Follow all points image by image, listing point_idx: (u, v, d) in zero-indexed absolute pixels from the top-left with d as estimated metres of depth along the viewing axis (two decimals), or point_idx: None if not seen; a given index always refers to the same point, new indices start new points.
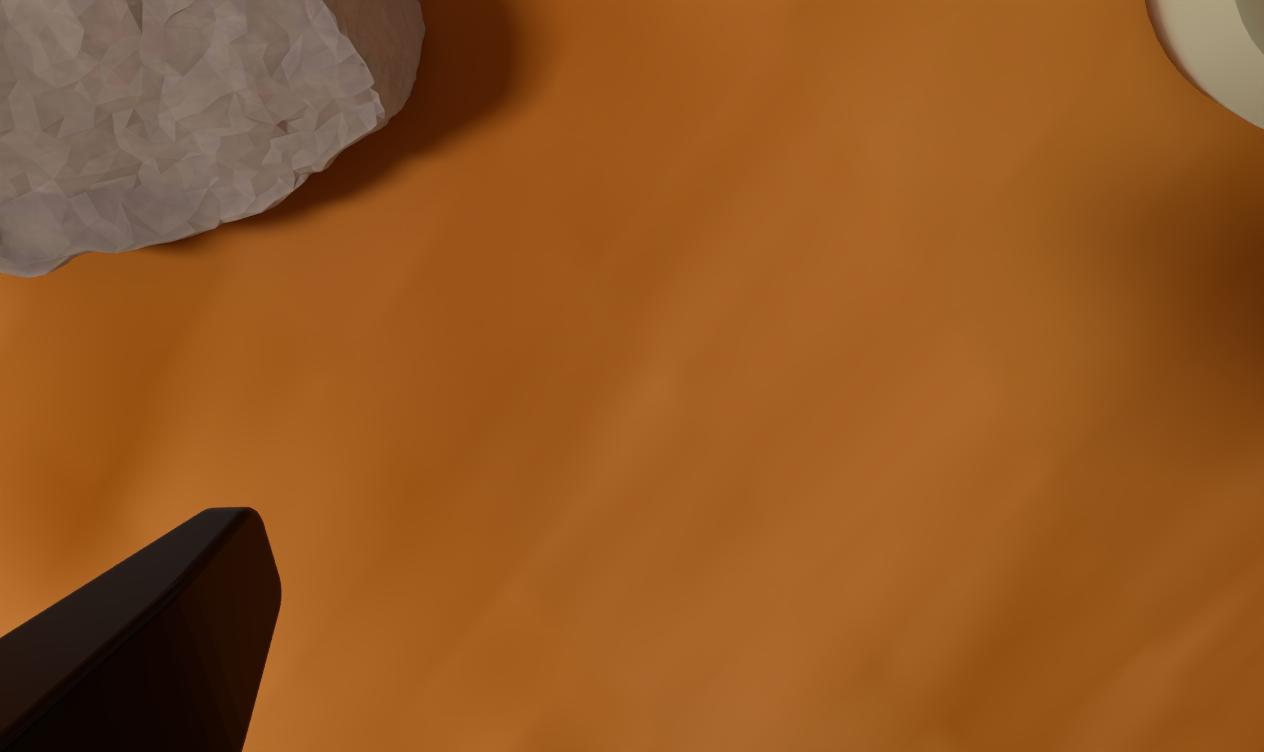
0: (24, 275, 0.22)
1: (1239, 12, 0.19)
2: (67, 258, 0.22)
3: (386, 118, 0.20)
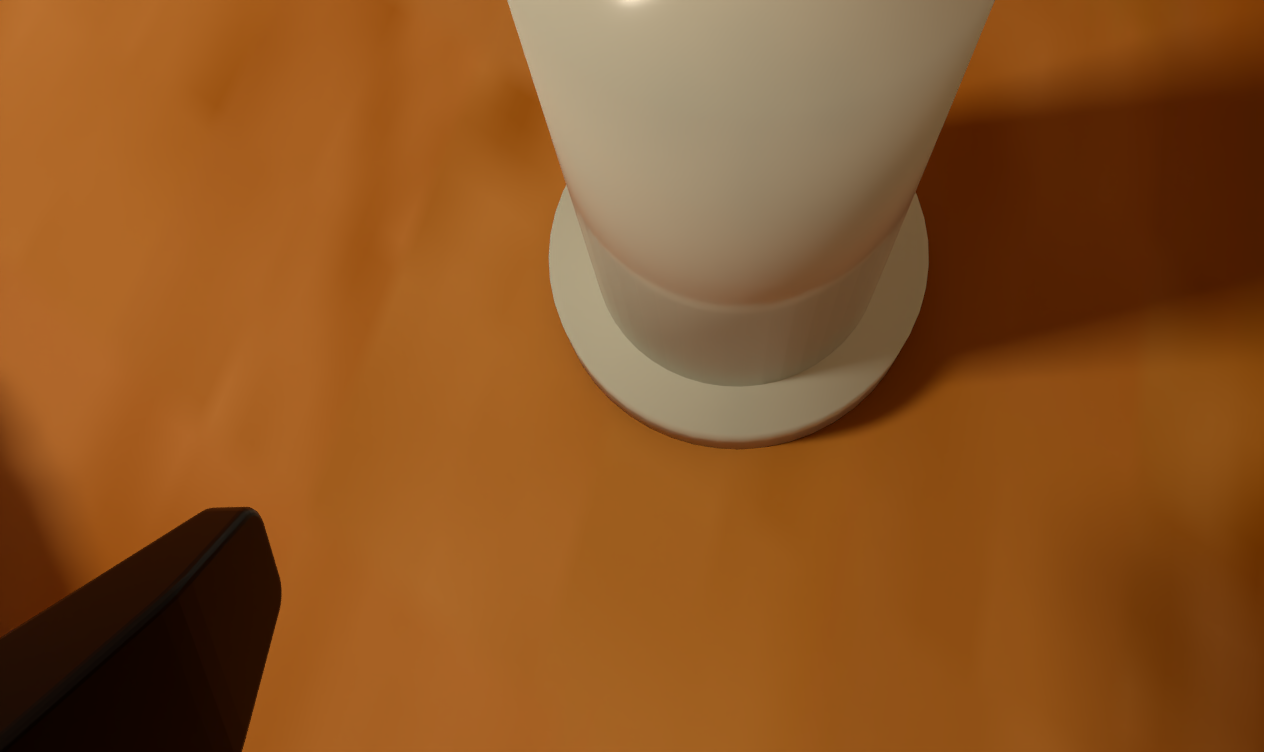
0: None
1: (644, 354, 0.22)
2: None
3: None
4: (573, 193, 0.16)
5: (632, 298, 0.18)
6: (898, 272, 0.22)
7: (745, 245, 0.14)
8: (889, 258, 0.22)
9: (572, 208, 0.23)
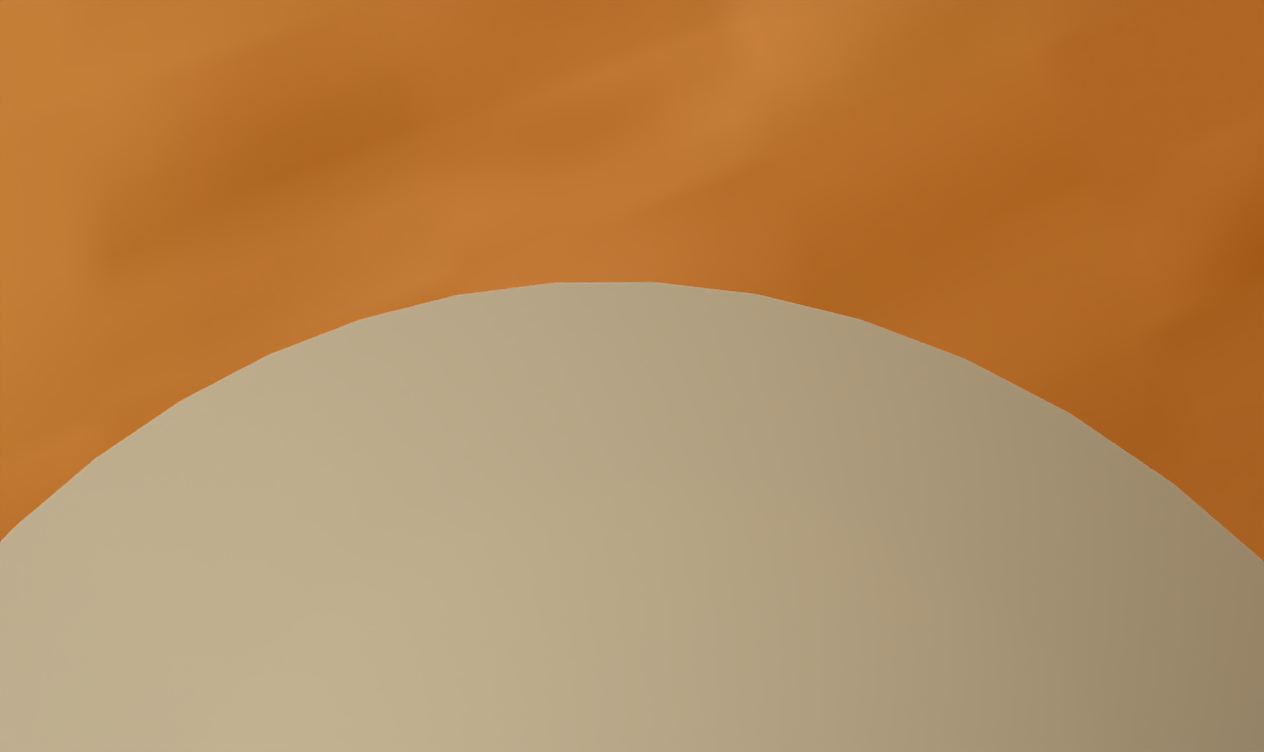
0: None
1: None
2: None
3: None
4: None
5: None
6: None
7: None
8: None
9: None
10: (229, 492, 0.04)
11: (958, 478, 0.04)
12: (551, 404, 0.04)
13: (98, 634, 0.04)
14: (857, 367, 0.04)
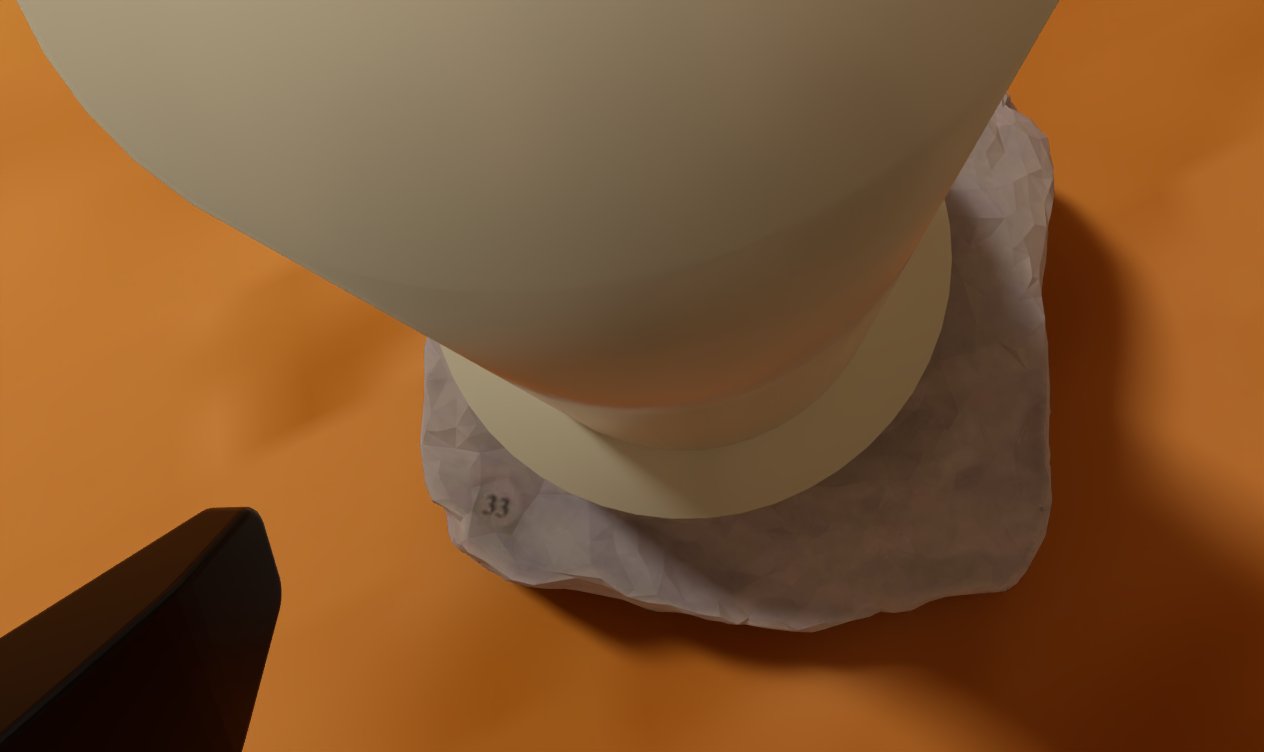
0: (509, 575, 0.18)
1: None
2: (570, 578, 0.18)
3: (1009, 583, 0.18)
4: None
5: None
6: (909, 274, 0.16)
7: (635, 386, 0.08)
8: None
9: None
10: None
11: None
12: None
13: None
14: None
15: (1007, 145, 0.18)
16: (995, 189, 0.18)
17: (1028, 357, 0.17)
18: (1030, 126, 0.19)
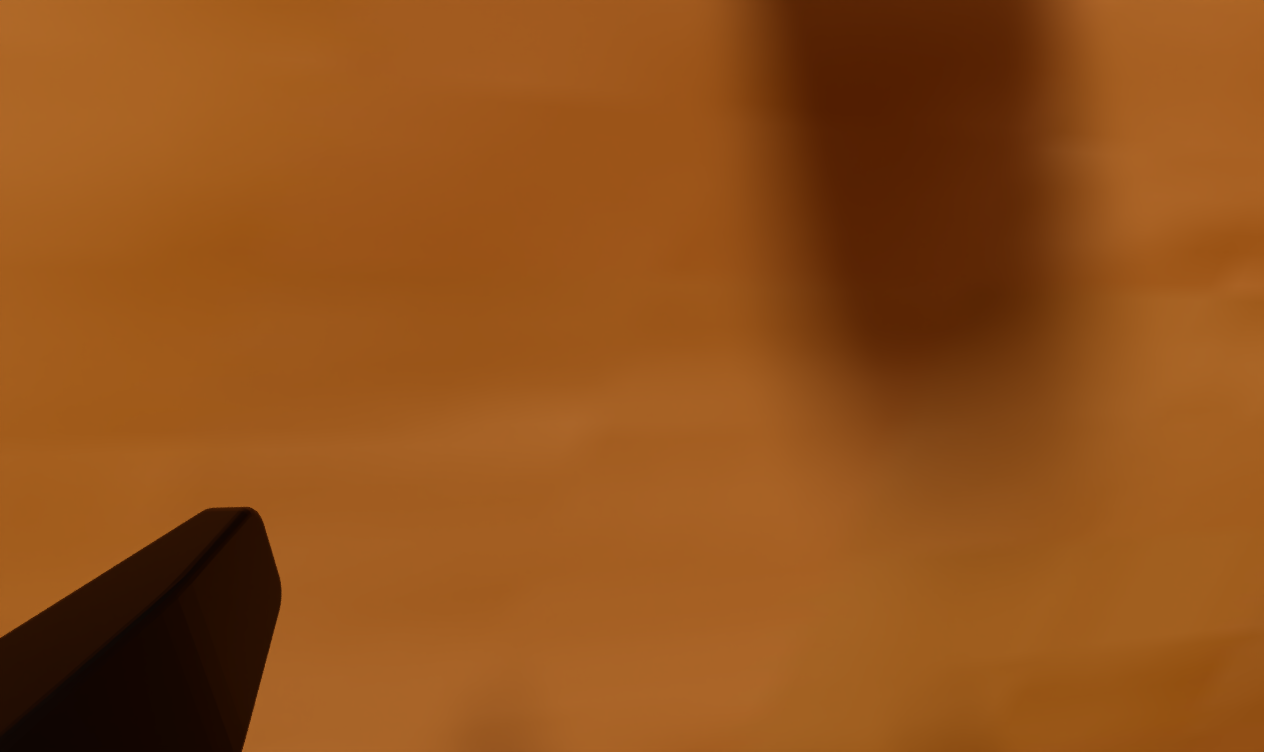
0: None
1: None
2: None
3: None
4: None
5: None
6: None
7: None
8: None
9: None
10: None
11: None
12: None
13: None
14: None
15: None
16: None
17: None
18: None
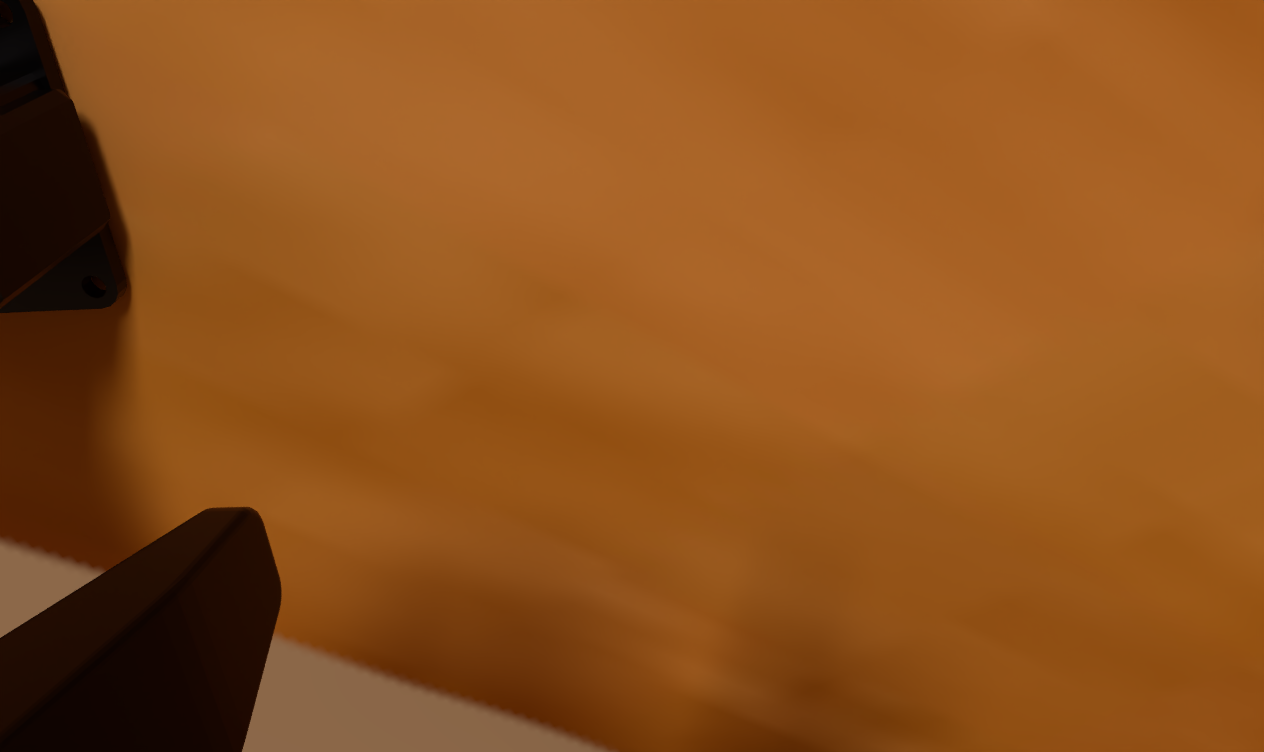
0: None
1: None
2: None
3: None
4: None
5: None
6: None
7: None
8: None
9: None
10: None
11: None
12: None
13: None
14: None
15: None
16: None
17: None
18: None
